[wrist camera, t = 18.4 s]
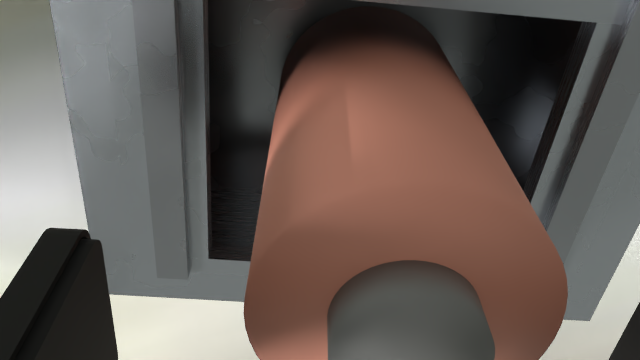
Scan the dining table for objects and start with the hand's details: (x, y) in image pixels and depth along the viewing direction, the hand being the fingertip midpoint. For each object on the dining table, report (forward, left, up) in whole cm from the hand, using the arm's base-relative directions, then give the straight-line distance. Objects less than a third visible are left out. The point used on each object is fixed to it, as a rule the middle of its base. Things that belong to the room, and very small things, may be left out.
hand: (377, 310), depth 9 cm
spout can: (0, 0, -8) cm, 8 cm away
